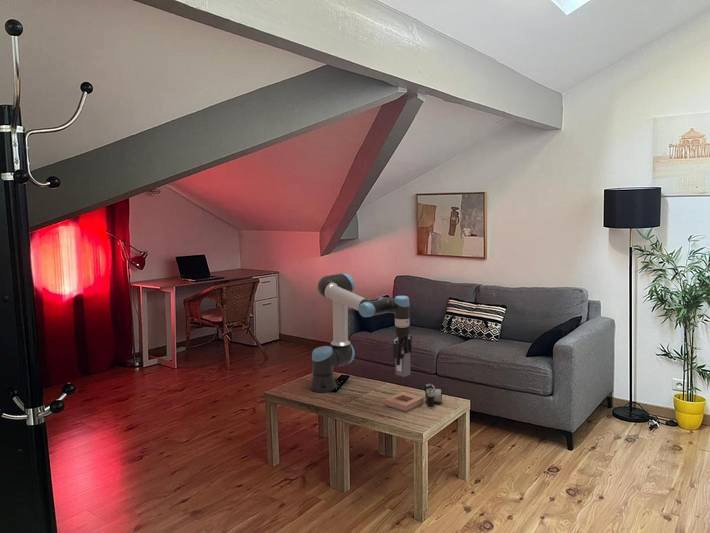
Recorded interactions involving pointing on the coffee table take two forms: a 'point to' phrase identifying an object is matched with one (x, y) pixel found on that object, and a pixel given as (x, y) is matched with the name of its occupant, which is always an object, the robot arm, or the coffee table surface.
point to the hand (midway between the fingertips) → (402, 369)
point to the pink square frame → (404, 401)
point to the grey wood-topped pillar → (404, 364)
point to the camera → (432, 395)
